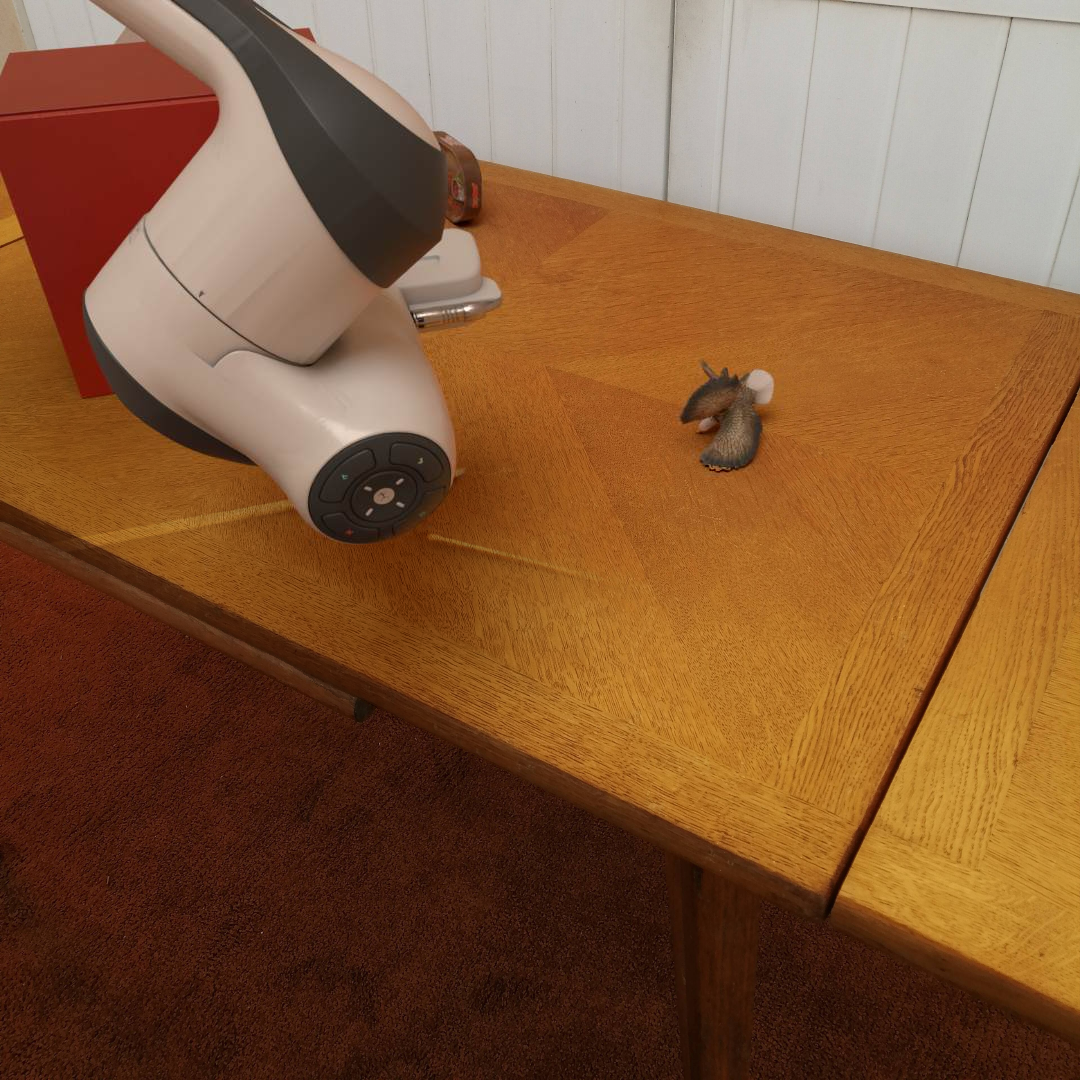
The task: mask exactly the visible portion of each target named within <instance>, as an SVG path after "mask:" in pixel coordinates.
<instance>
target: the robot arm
mask: <svg viewBox="0 0 1080 1080" xmlns="http://www.w3.org/2000/svg"><path fill="white" fill-rule="evenodd" d="M88 1H89V2H91V3H92V4H94V5H95V6H96V7H98V8H99V9H101V10H102V11H103V12H105V13H106V14H108V15H109V16H110V17H112V18H113V19H114V20H116V21H117V22H119V23H120V24H121V25H123V26H124V27H125V28H126V27H127V28H128V29H130V30H131V31H133V32H134V33H135V34H137V35H138V36H140V37H141V38H142V39H144V40H145V41H147V42H148V43H149V44H151V45H152V46H153V47H155V48H156V49H158V50H159V51H160V52H162V53H163V54H165V55H166V56H167V57H169V58H170V59H172V60H173V61H174V62H176V63H177V64H179V65H180V66H181V67H183V68H184V69H186V70H187V71H188V72H190V73H191V74H192V75H194V76H195V77H197V78H198V79H199V80H201V81H202V82H204V83H205V84H206V85H208V86H209V87H210V88H211V89H212V90H213V91H214V93H215V94H216V96H217V99H218V102H219V111H220V112H219V120H218V122H217V125H216V128H215V129H214V131H213V133H212V134H211V136H210V137H209V138H208V139H207V141H206V142H205V143H204V145H203V146H202V147H201V148H200V150H199V151H198V152H197V153H196V155H195V156H194V157H193V158H192V160H191V161H190V162H189V163H188V165H187V166H186V167H185V168H184V170H183V171H182V172H181V173H180V175H179V176H178V177H177V178H176V180H175V181H174V182H173V183H172V185H171V186H170V187H169V188H168V190H167V191H166V192H165V193H164V195H163V196H162V197H161V198H160V200H159V201H158V202H157V203H156V205H155V206H154V207H153V208H152V210H151V211H150V212H148V213H147V214H145V215H144V216H143V217H142V218H141V220H140V221H139V222H138V223H137V225H136V226H135V227H134V228H133V230H132V231H131V232H130V233H129V235H128V236H127V237H126V238H125V240H124V241H123V242H122V243H121V245H120V246H119V247H118V249H117V250H116V251H115V252H114V254H113V255H112V256H111V258H110V259H109V260H108V262H107V263H106V264H105V265H104V267H103V268H102V269H101V271H100V272H99V273H98V275H97V276H96V278H95V279H94V280H93V282H92V283H91V285H90V286H88V287H87V288H86V289H85V291H84V293H83V306H82V309H83V318H84V324H85V329H86V332H87V336H88V339H89V342H90V345H91V347H92V350H93V352H94V355H95V357H96V359H97V362H98V364H99V366H100V368H101V370H102V372H103V374H104V376H105V378H106V380H107V382H108V384H109V385H110V387H111V389H112V390H113V392H114V394H115V396H116V397H117V398H118V400H119V401H120V402H121V403H122V404H123V406H124V407H125V408H126V409H127V410H128V411H129V412H130V413H131V414H132V415H133V416H135V417H136V418H137V419H139V420H140V421H141V422H143V423H144V424H145V425H147V426H148V427H150V428H151V429H152V430H153V431H156V432H157V433H159V434H160V435H162V436H163V437H165V438H167V439H168V440H170V441H173V442H174V443H176V444H178V445H180V446H182V447H184V448H186V449H189V450H191V451H193V452H197V453H199V454H201V455H204V456H208V457H211V458H214V459H218V460H224V461H227V462H232V463H235V464H240V465H245V466H251V467H259V468H260V469H261V470H263V471H264V472H265V473H266V474H267V475H268V476H269V477H270V478H271V479H272V480H273V481H274V482H275V483H276V485H278V487H279V488H280V490H282V492H283V493H284V494H285V495H286V497H287V498H288V500H289V502H290V503H291V504H292V506H293V507H294V509H295V510H296V511H297V513H298V514H299V516H300V517H301V518H302V520H304V522H305V523H306V524H307V525H308V526H309V527H311V528H312V529H313V530H314V531H316V532H317V533H319V534H321V536H324V537H325V538H327V539H330V540H332V541H333V542H337V543H341V544H347V545H371V544H377V543H378V544H379V543H382V542H385V541H389V540H391V539H395V538H397V537H400V536H403V534H406V533H408V532H409V531H411V530H413V529H414V528H415V527H417V526H418V525H420V524H421V523H422V522H423V521H424V520H426V519H427V518H428V517H429V516H430V515H431V514H432V513H433V512H434V511H435V510H436V509H437V508H438V507H439V506H440V505H441V504H442V503H443V502H444V500H445V499H446V498H447V496H448V495H449V492H450V489H452V488H451V487H452V485H453V482H454V478H455V474H456V468H457V459H458V457H457V456H458V455H457V444H456V436H455V431H454V426H453V422H452V418H451V414H450V411H449V407H448V403H447V401H446V398H445V393H444V391H443V389H442V386H441V383H440V381H439V379H438V376H437V373H436V371H435V369H434V367H433V365H432V363H431V362H430V360H429V358H428V357H427V355H426V354H425V353H424V348H423V343H422V339H421V336H420V335H421V334H425V333H426V334H427V333H431V332H438V331H439V332H440V331H445V330H451V329H452V330H453V329H458V328H462V327H465V326H466V327H467V326H469V325H472V324H474V323H476V322H477V321H479V320H482V319H484V318H486V313H489V312H493V311H495V310H497V309H500V308H501V307H502V305H503V301H504V296H503V294H502V291H501V289H500V287H499V286H498V284H497V282H496V281H495V280H494V279H492V278H490V277H487V276H483V275H482V263H481V256H480V255H481V254H480V252H479V247H478V245H477V242H476V240H475V238H474V235H473V234H472V233H471V232H469V231H466V230H463V229H460V228H453V227H451V228H450V227H449V228H445V225H446V218H447V217H446V211H447V200H448V169H447V157H446V152H445V151H444V150H443V148H442V147H441V146H440V145H439V144H438V141H437V140H436V138H435V136H434V134H433V131H432V129H431V128H430V126H429V124H428V123H427V122H426V121H425V119H424V118H423V117H422V115H421V114H420V113H419V112H418V110H416V108H414V107H413V105H412V104H411V103H409V101H407V99H405V98H404V96H402V95H401V94H400V93H399V92H398V91H397V90H395V89H394V88H393V87H392V86H390V85H389V84H388V83H387V82H385V81H384V80H382V79H381V78H380V77H378V76H376V75H375V74H373V73H372V72H370V71H369V70H367V69H365V68H364V67H362V66H360V65H359V64H357V63H355V62H353V61H351V60H350V59H347V58H346V57H344V56H342V55H340V54H338V53H336V52H334V51H332V50H330V49H328V48H326V47H324V46H322V45H320V44H318V43H317V42H316V43H317V44H316V43H314V42H312V41H310V40H309V39H307V38H305V37H303V36H301V35H300V34H299V33H297V32H296V31H294V30H293V29H294V28H292V27H290V26H289V25H288V24H286V23H285V22H283V21H282V20H280V18H279V17H277V16H275V15H274V14H272V12H269V11H268V10H267V9H266V8H265V7H263V6H262V5H260V4H259V3H258V2H257V1H255V0H88Z"/></svg>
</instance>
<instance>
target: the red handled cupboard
mask: <svg viewBox="0 0 1080 1080" xmlns="http://www.w3.org/2000/svg"><path fill="white" fill-rule="evenodd" d="M219 112H220V111H219V102H218V99H217V96H213V97H202V98H192V99H182V100H171V101H161V102H150V103H140V104H130V105H119V106H109V107H99V108H88V109H78V110H68V111H57V112H47V113H36V114H26V115H16V116H5V117H0V175H1V177H2V180H3V182H4V185H5V188H6V191H7V194H8V197H9V199H10V203H11V205H12V209H13V210H14V214H15V216H16V219H17V222H18V225H19V227H20V230H21V233H22V236H23V238H24V242H25V244H26V246H27V249H28V252H29V256H30V257H31V261H32V264H33V267H34V269H35V271H36V275H37V277H38V280H39V283H40V286H41V288H42V291H43V294H44V296H45V301H46V302H47V306H48V307H49V311H50V314H51V317H52V319H53V322H54V324H55V328H56V330H57V333H58V336H59V338H60V341H61V344H62V346H63V350H64V352H65V355H66V357H67V361H68V363H69V366H70V369H71V372H72V375H73V377H74V379H75V382H76V385H77V388H78V391H79V393H80V397H81V399H87V398H94V397H101V396H108V395H113V394H115V393H114V392H113V390H112V389H111V387H110V385H109V384H108V382H107V380H106V378H105V376H104V374H103V372H102V370H101V368H100V366H99V364H98V362H97V359H96V357H95V355H94V352H93V350H92V347H91V345H90V342H89V339H88V336H87V332H86V329H85V324H84V318H83V309H82V306H83V293H84V291H85V289H86V288H87V287H88V286H90V285H91V283H92V282H93V280H94V279H95V278H96V276H97V275H98V273H99V272H100V271H101V269H102V268H103V267H104V265H105V264H106V263H107V262H108V260H109V259H110V258H111V256H112V255H113V254H114V252H115V251H116V250H117V249H118V247H119V246H120V245H121V243H122V242H123V241H124V240H125V238H126V237H127V236H128V235H129V233H130V232H131V231H132V230H133V228H134V227H135V226H136V225H137V223H138V222H139V221H140V220H141V218H142V217H143V216H144V215H145V214H147V213H148V212H150V211H151V210H152V208H153V207H154V206H155V205H156V203H157V202H158V201H159V200H160V198H161V197H162V196H163V195H164V193H165V192H166V191H167V190H168V188H169V187H170V186H171V185H172V183H173V182H174V181H175V180H176V178H177V177H178V176H179V175H180V173H181V172H182V171H183V170H184V168H185V167H186V166H187V165H188V163H189V162H190V161H191V160H192V158H193V157H194V156H195V155H196V153H197V152H198V151H199V150H200V148H201V147H202V146H203V145H204V143H205V142H206V141H207V139H208V138H209V137H210V136H211V134H212V133H213V131H214V129H215V128H216V125H217V122H218V120H219Z"/></svg>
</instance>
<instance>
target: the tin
mask: <svg viewBox="0 0 1080 1080" xmlns="http://www.w3.org/2000/svg"><path fill="white" fill-rule="evenodd" d="M432 132H433V134H434V136H435V138H436V140H437V141H438V144H439V145H440V146H441V147H442V148H443V150H444V151H445V152H446V157H447V169H448V200H447V211H446V218H447V219H448V220H449V221H450V222H451V223H454V224H458V223H460V222H466V221H467V222H468V221H473V220H476V218H478V216H479V215H480V213H481V211H482V208H483V207H482V199H483V198H482V197H483V187H482V183H483V178H482V177H483V176H482V172H481V168H480V163H479V161H478V160H477V158H476V155H475V154H474V152H473V151H472V150H471V149H470V148H468V147H467V146H466V145H464V144H463V143H461V142H460V141H458V139H455V137H453V136H452V135H450V134H449V133H447V132H446V131H443V130H435V131H432Z"/></svg>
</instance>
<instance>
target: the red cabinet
mask: <svg viewBox="0 0 1080 1080" xmlns="http://www.w3.org/2000/svg"><path fill="white" fill-rule="evenodd" d="M292 29H293V30H294V31H296V32H297V33H299V34H300V35H301V36H303V37H305V38H307V39H309V40H310V41H312V42H314V43H316V44H318V43H317V41H316V39H315V37H314V35H313V33H312V30H311V28H310V27H301V28H292ZM213 96H216V94H215V93H214V91H213V90H212V89H211V88H210V87H209V86H208V85H206V84H205V83H204V82H202V81H201V80H199V79H198V78H197V77H195V76H194V75H192V74H191V73H190V72H188V71H187V70H186V69H184V68H183V67H181V66H180V65H179V64H177V63H176V62H174V61H173V60H172V59H170V58H169V57H167V56H166V55H165V54H163V53H162V52H160V51H159V50H158V49H156V48H155V47H153V46H152V45H151V44H149V43H148V42H147V41H145V42H134V43H122V44H115V43H111V44H99V45H88V46H76V47H65V48H64V47H63V48H54V49H53V48H52V49H50V48H49V49H40V50H28V51H27V50H26V51H15V52H9V53H8V55H7V58H6V60H5V62H4V65H3V68H2V70H1V72H0V117H5V116H16V115H26V114H36V113H47V112H57V111H68V110H78V109H88V108H99V107H109V106H119V105H130V104H140V103H150V102H161V101H171V100H182V99H192V98H202V97H213Z"/></svg>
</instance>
